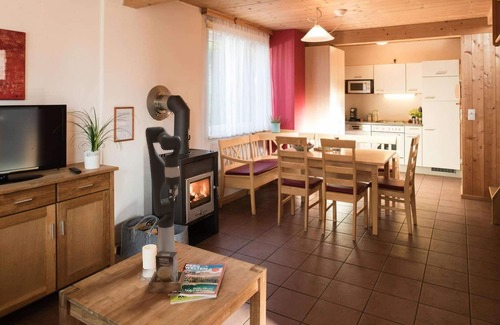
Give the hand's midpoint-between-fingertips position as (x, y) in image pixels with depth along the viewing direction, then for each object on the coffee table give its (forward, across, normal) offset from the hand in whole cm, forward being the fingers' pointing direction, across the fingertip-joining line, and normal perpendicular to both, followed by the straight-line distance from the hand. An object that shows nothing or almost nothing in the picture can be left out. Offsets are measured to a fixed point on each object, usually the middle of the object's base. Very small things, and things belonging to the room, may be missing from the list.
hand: (173, 205), depth 191 cm
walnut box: (+36, +17, -2) cm, 40 cm away
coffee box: (+35, +17, -2) cm, 39 cm away
